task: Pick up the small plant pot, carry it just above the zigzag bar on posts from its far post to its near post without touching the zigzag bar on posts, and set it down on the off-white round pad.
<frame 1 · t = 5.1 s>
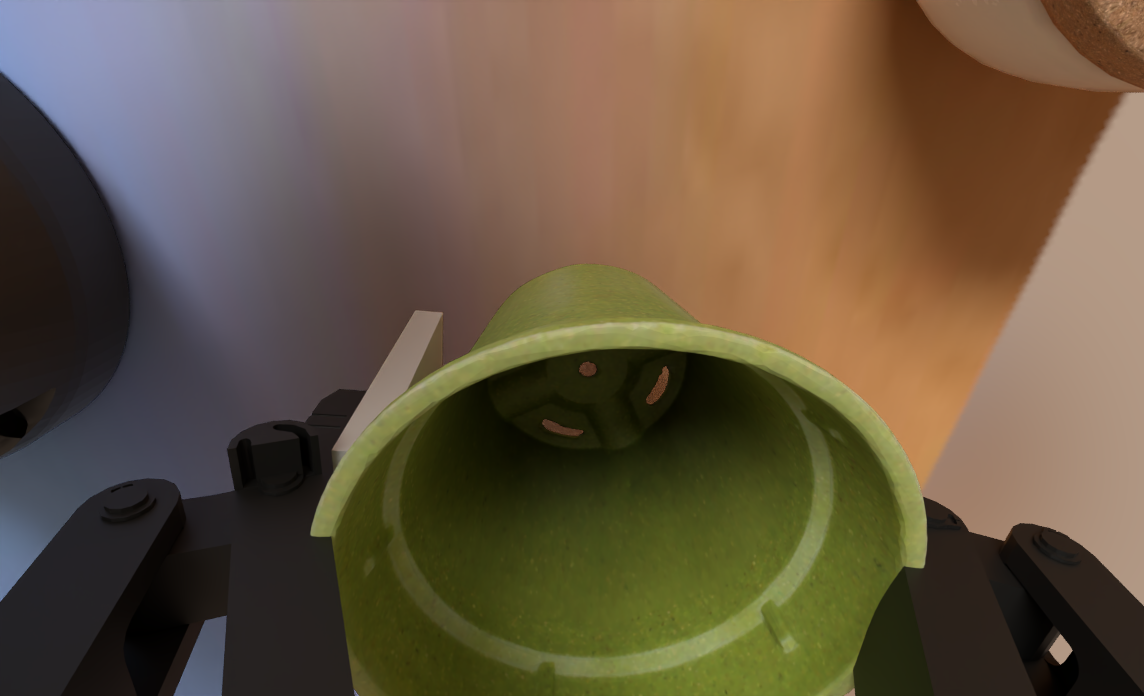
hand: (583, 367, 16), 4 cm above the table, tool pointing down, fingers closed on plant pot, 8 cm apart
plant pot: (582, 357, 16), point 3 cm above the table, touching gripper
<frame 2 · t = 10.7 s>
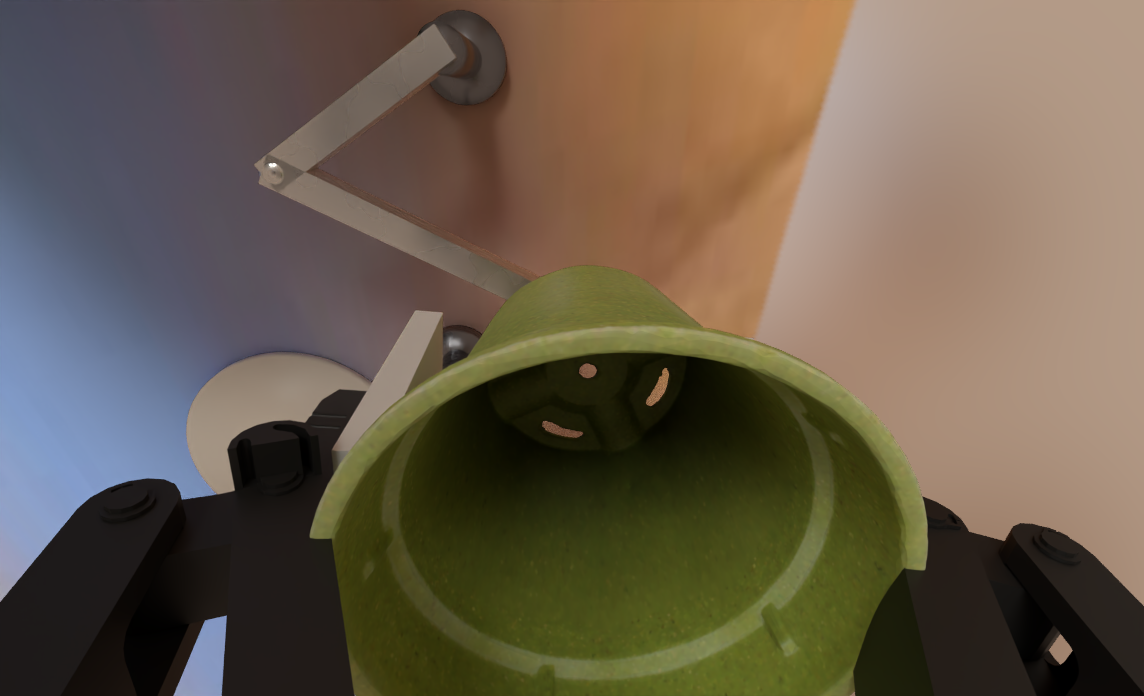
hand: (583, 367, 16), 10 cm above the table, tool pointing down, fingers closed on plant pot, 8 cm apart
plant pot: (582, 358, 16), point 10 cm above the table, touching gripper
zigzag bar on posts: (462, 224, 24), on the table
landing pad: (304, 445, 29), on the table
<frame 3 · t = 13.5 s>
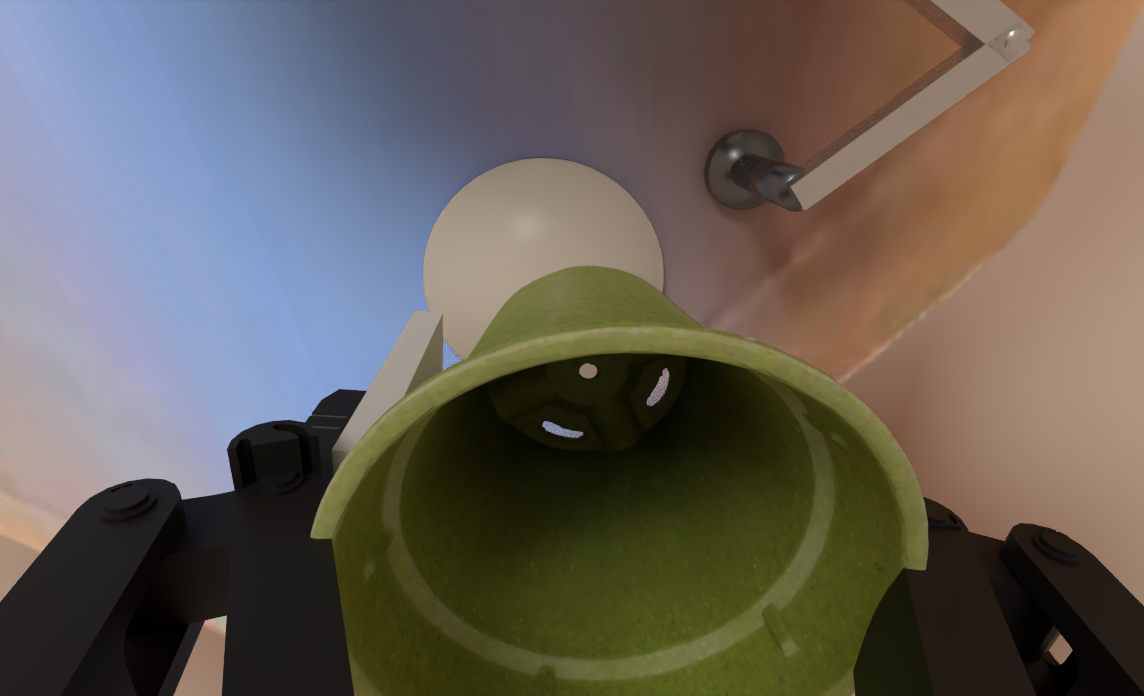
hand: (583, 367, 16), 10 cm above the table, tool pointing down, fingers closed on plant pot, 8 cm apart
plant pot: (583, 358, 16), point 10 cm above the table, touching gripper
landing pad: (544, 281, 25), on the table
when the fingers open (2 cm above the table, at t = 16.3 s): plant pot moves 1 cm, point 1 cm above the table.
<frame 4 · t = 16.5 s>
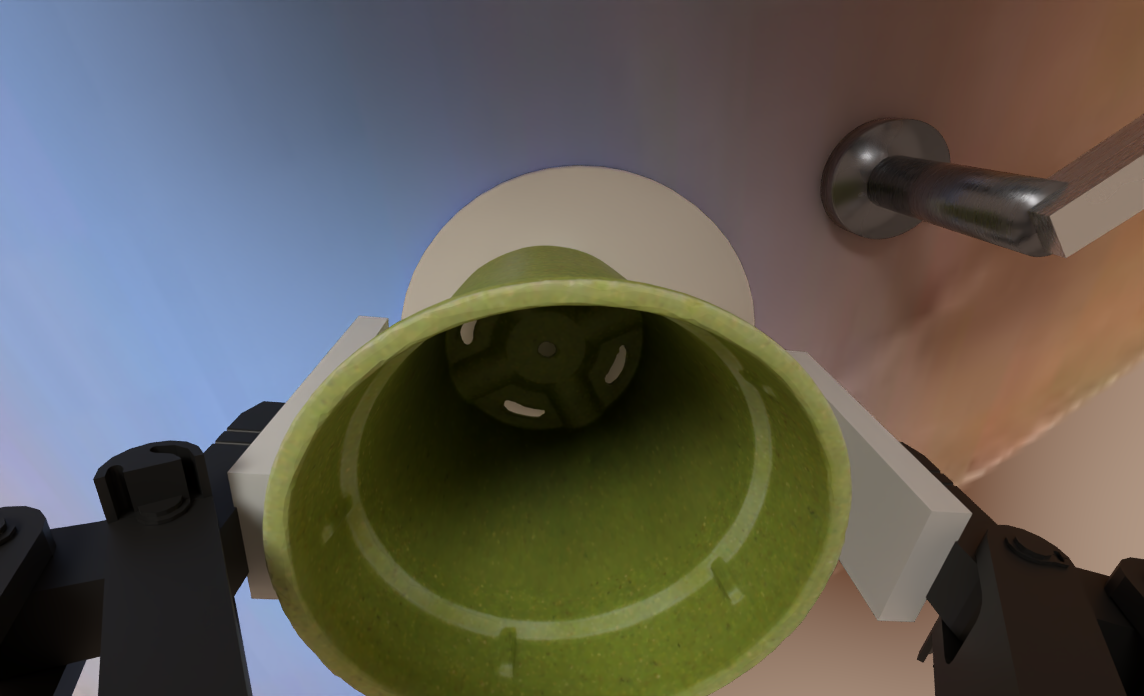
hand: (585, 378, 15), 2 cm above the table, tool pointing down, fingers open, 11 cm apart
plant pot: (542, 338, 17), point 1 cm above the table, touching gripper
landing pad: (578, 343, 17), on the table
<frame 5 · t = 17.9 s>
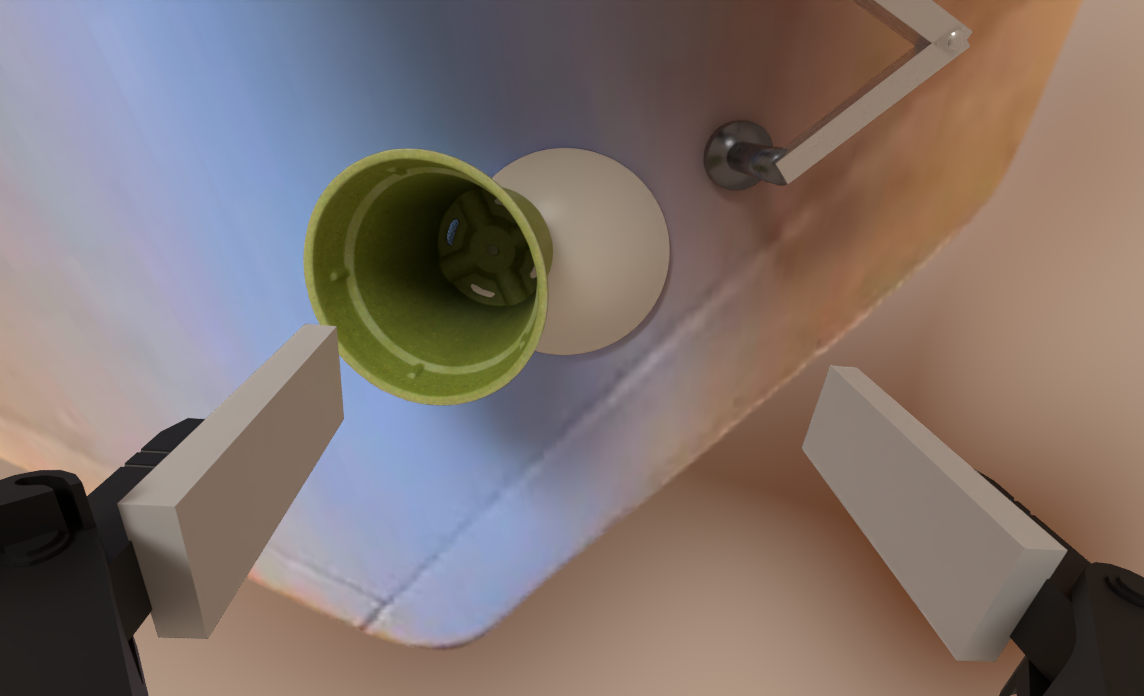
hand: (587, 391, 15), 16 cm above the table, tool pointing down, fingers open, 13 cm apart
plant pot: (495, 246, 28), point 1 cm above the table, touching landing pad
zigzag bar on posts: (767, 4, 25), on the table
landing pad: (565, 257, 29), on the table
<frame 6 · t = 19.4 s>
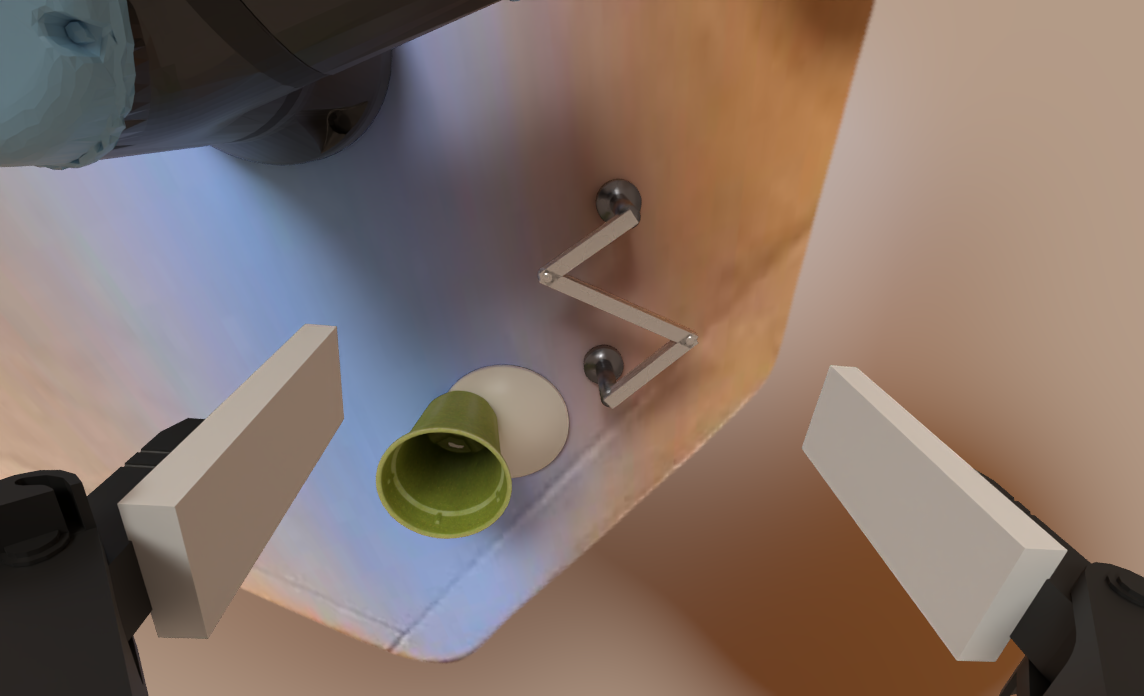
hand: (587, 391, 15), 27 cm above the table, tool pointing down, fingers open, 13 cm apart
plant pot: (460, 419, 46), on the table, touching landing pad
zigzag bar on posts: (609, 287, 42), on the table
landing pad: (504, 422, 47), on the table
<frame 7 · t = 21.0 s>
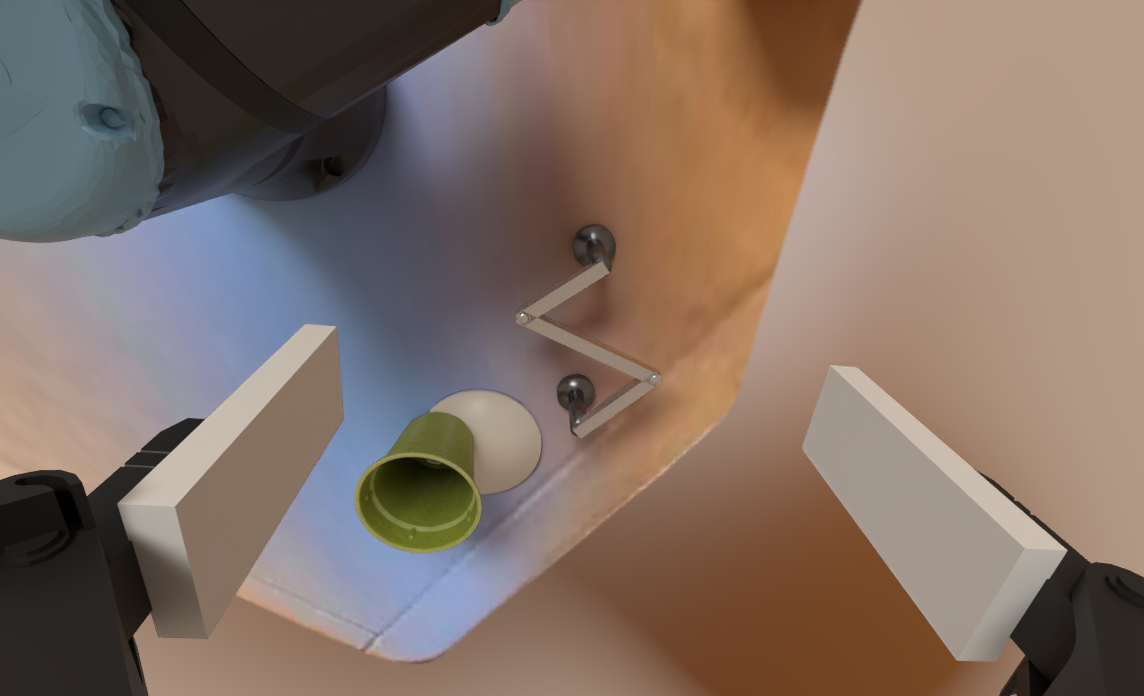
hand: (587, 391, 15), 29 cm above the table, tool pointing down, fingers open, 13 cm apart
plant pot: (439, 438, 48), on the table, touching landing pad
zigzag bar on posts: (584, 322, 45), on the table
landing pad: (480, 441, 49), on the table
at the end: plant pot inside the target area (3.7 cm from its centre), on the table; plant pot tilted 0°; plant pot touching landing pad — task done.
